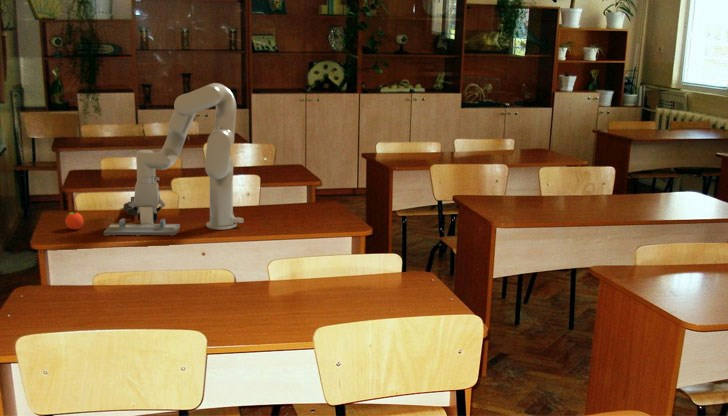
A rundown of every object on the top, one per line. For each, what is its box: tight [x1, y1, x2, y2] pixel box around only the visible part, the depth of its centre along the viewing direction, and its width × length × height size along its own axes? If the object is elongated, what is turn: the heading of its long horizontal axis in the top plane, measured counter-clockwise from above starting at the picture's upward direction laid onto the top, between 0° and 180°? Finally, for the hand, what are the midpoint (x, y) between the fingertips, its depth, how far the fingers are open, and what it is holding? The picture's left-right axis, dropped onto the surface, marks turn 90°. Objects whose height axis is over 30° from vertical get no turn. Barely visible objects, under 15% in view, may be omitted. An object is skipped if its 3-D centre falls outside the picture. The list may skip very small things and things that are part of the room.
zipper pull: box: [123, 196, 138, 216], centre depth 334 cm, size 9×7×25 cm
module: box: [139, 206, 155, 224], centre depth 317 cm, size 5×7×8 cm
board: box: [103, 223, 181, 237], centre depth 306 cm, size 28×13×2 cm, turn 96°
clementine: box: [65, 212, 85, 231], centre depth 306 cm, size 8×7×7 cm
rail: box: [108, 218, 176, 229], centre depth 306 cm, size 26×4×3 cm, turn 96°
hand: (148, 221), depth 318 cm, fingers closed on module, 5 cm apart
